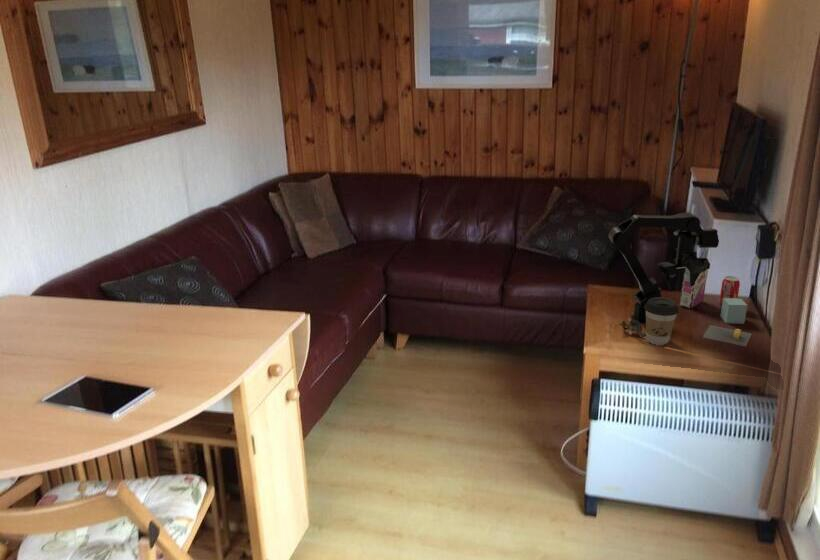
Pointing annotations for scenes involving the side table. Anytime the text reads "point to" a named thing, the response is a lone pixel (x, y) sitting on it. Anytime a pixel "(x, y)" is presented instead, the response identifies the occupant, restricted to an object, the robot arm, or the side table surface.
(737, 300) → the block
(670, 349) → the side table surface
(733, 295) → the beverage can
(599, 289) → the side table surface
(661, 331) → the coffee cup
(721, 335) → the mat
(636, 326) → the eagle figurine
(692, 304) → the candy bar box
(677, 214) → the robot arm
